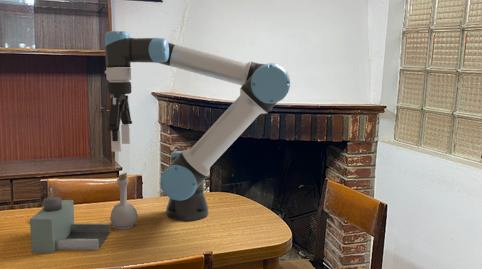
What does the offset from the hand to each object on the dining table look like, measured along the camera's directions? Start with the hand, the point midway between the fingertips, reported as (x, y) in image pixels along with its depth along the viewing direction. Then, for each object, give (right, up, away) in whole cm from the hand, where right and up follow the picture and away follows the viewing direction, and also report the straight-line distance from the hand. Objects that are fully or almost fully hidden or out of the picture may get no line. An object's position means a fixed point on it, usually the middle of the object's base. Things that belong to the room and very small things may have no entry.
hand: (121, 147), depth 146 cm
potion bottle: (0, -26, +4) cm, 27 cm away
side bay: (-9, -28, -9) cm, 31 cm away
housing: (-18, -28, -9) cm, 34 cm away
